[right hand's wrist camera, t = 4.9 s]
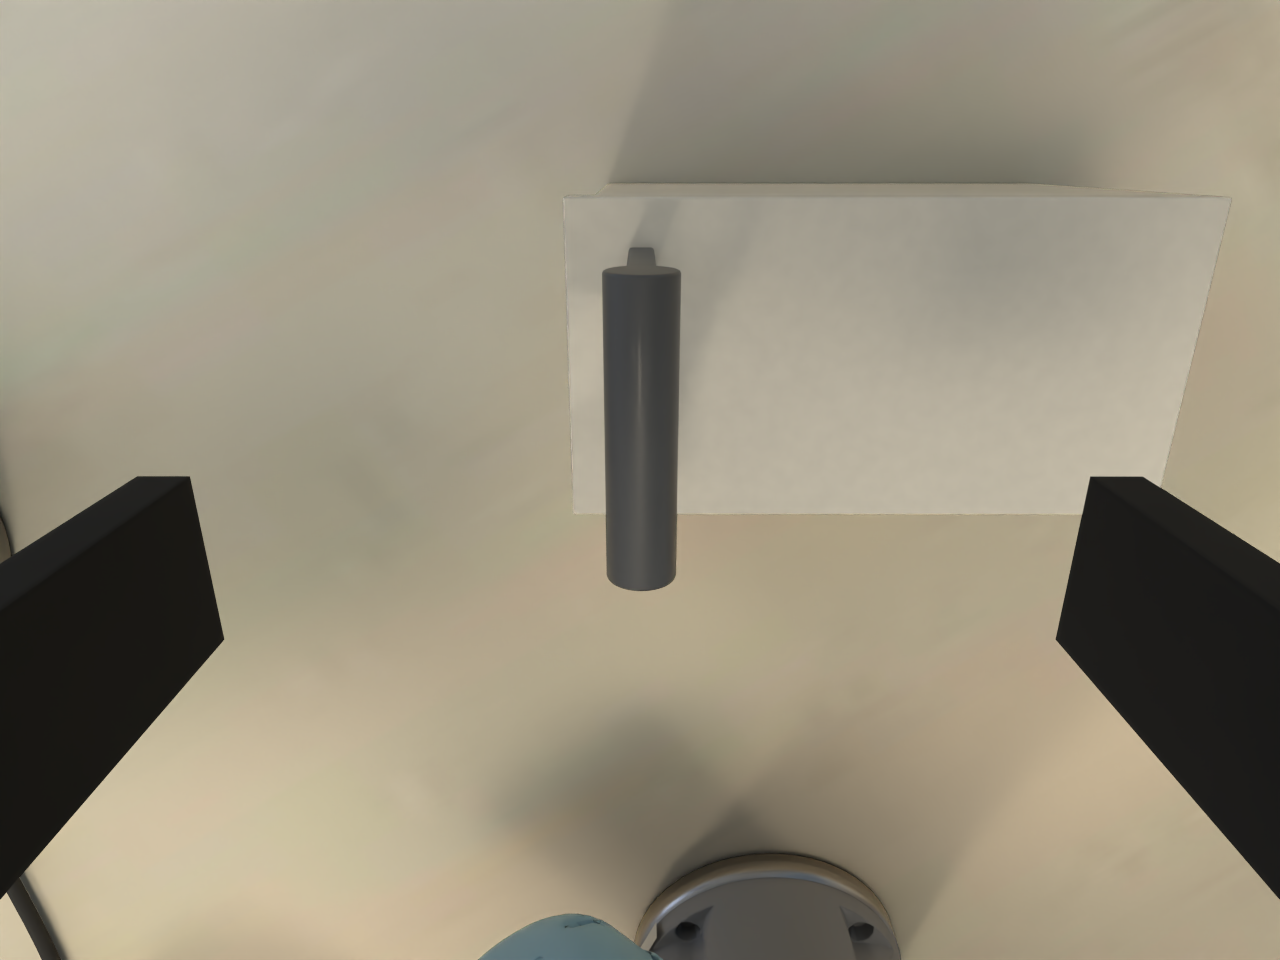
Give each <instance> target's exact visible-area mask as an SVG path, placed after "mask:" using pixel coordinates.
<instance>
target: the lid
mask: <svg viewBox="0 0 1280 960" xmlns="http://www.w3.org/2000/svg"><path fill="white" fill-rule="evenodd" d="M1231 201H1232V198H1230V197H1222V196H1207V195H568V196H566V197H564V198H563V217H564V249H565V280H566V312H567V343H568V375H569V406H570V438H571V469H572V501H573V514H575V515H606V558H607V577H608V579H609V580H610V581H611V582H612V583H613V584H614V585H616V586H618V587H620V588H623V589H627V590H634V591H649V590H655V589H659V588H662V587H665V586H667V585H668V584H670V583H671V582H672V581H673V580H674V578H675V576H676V537H677V515H1082V513H1083V508H1084V504H1085V499H1086V494H1087V489H1088V485H1089V480H1090V476H1143V477H1144V478H1146V479H1148V480H1149V481H1151V482H1152V483H1154V484H1155V485H1157V486H1159V487H1160V488H1161V485H1162V481H1163V477H1164V473H1165V469H1166V465H1167V461H1168V457H1169V453H1170V449H1171V444H1172V440H1173V436H1174V432H1175V428H1176V424H1177V420H1178V416H1179V412H1180V408H1181V404H1182V400H1183V396H1184V392H1185V388H1186V384H1187V380H1188V375H1189V371H1190V367H1191V363H1192V359H1193V355H1194V351H1195V347H1196V343H1197V339H1198V335H1199V331H1200V327H1201V323H1202V319H1203V315H1204V311H1205V306H1206V302H1207V298H1208V294H1209V290H1210V286H1211V282H1212V278H1213V274H1214V270H1215V266H1216V262H1217V258H1218V254H1219V250H1220V246H1221V242H1222V237H1223V233H1224V229H1225V225H1226V221H1227V217H1228V213H1229V209H1230V205H1231Z"/></svg>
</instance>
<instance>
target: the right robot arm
mask: <svg viewBox="0 0 1280 960" xmlns="http://www.w3.org/2000/svg"><path fill="white" fill-rule="evenodd" d="M223 640H224V636H223V631H222V626H221V622H220V617H219V612H218V608H217V603H216V598H215V593H214V589H213V584H212V579H211V575H210V570H209V565H208V560H207V556H206V551H205V546H204V541H203V537H202V532H201V527H200V523H199V518H198V513H197V508H196V504H195V499H194V494H193V489H192V485H191V480H190V476H137V477H136V478H134V479H132V480H131V481H129V482H128V483H126V484H125V485H123V486H121V487H120V488H118V489H117V490H115V491H114V492H112V493H110V494H109V495H107V496H106V497H104V498H103V499H101V500H99V501H98V502H96V503H95V504H93V505H92V506H90V507H88V508H87V509H85V510H84V511H82V512H81V513H79V514H77V515H76V516H74V517H73V518H71V519H70V520H68V521H66V522H65V523H63V524H62V525H60V526H59V527H57V528H55V529H54V530H52V531H51V532H49V533H48V534H46V535H44V536H43V537H41V538H40V539H38V540H37V541H35V542H33V543H32V544H30V545H29V546H27V547H25V548H24V549H22V550H21V551H19V552H18V553H16V554H14V555H13V556H11V553H10V547H9V541H8V538H7V534H6V531H5V527H4V525H3V522H2V520H1V517H0V899H1V898H2V897H3V896H4V895H5V893H6V892H7V894H8V896H9V897H10V899H11V901H12V903H13V905H14V906H15V908H16V910H17V912H18V914H19V916H20V917H21V919H22V921H23V923H24V925H25V927H26V929H27V931H28V933H29V935H30V936H31V938H32V940H33V942H34V944H35V946H36V948H37V951H38V953H39V955H40V957H41V959H42V960H61V959H60V957H59V954H58V952H57V950H56V948H55V946H54V944H53V942H52V940H51V937H50V935H49V933H48V931H47V929H46V927H45V925H44V923H43V921H42V919H41V917H40V916H39V914H38V912H37V910H36V908H35V906H34V904H33V902H32V900H31V899H30V897H29V895H28V893H27V891H26V889H25V887H24V886H23V884H22V882H21V880H20V878H19V877H20V876H21V875H22V874H23V873H24V871H25V870H26V869H27V868H28V867H29V866H30V864H31V863H32V862H33V861H34V860H35V859H36V857H37V856H38V855H39V854H40V853H41V852H42V850H43V849H44V848H45V847H46V846H47V845H48V843H49V842H50V841H51V840H52V839H53V838H54V837H55V835H56V834H57V833H58V832H59V831H60V830H61V828H62V827H63V826H64V825H65V824H66V823H67V821H68V820H69V819H70V818H71V817H72V816H73V814H74V813H75V812H76V811H77V810H78V809H79V808H80V806H81V805H82V804H83V803H84V802H85V801H86V799H87V798H88V797H89V796H90V795H91V794H92V792H93V791H94V790H95V789H96V788H97V787H98V785H99V784H100V783H101V782H102V781H103V780H104V778H105V777H106V776H107V775H108V774H109V773H110V772H111V770H112V769H113V768H114V767H115V766H116V765H117V763H118V762H119V761H120V760H121V759H122V758H123V756H124V755H125V754H126V753H127V752H128V751H129V749H130V748H131V747H132V746H133V745H134V744H135V742H136V741H137V740H138V739H139V738H140V737H141V736H142V734H143V733H144V732H145V731H146V730H147V729H148V727H149V726H150V725H151V724H152V723H153V722H154V720H155V719H156V718H157V717H158V716H159V715H160V713H161V712H162V711H163V710H164V709H165V708H166V707H167V705H168V704H169V703H170V702H171V701H172V700H173V698H174V697H175V696H176V695H177V694H178V693H179V691H180V690H181V689H182V688H183V687H184V686H185V684H186V683H187V682H188V681H189V680H190V679H191V677H192V676H193V675H194V674H195V673H196V672H197V671H198V669H199V668H200V667H201V666H202V665H203V664H204V662H205V661H206V660H207V659H208V658H209V657H210V655H211V654H212V653H213V652H214V651H215V650H216V648H217V647H218V646H219V645H220V644H221V643H222V642H223ZM1056 640H1057V642H1058V643H1059V644H1060V645H1061V646H1062V647H1063V648H1064V650H1065V651H1066V652H1067V653H1068V654H1069V655H1070V657H1071V658H1072V659H1073V660H1074V661H1075V662H1076V664H1077V665H1078V666H1079V667H1080V668H1081V669H1082V671H1083V672H1084V673H1085V674H1086V675H1087V676H1088V677H1089V679H1090V680H1091V681H1092V682H1093V683H1094V684H1095V686H1096V687H1097V688H1098V689H1099V690H1100V691H1101V693H1102V694H1103V695H1104V696H1105V697H1106V698H1107V700H1108V701H1109V702H1110V703H1111V704H1112V705H1113V707H1114V708H1115V709H1116V710H1117V711H1118V712H1119V713H1120V715H1121V716H1122V717H1123V718H1124V719H1125V720H1126V722H1127V723H1128V724H1129V725H1130V726H1131V727H1132V729H1133V730H1134V731H1135V732H1136V733H1137V734H1138V736H1139V737H1140V738H1141V739H1142V740H1143V741H1144V742H1145V744H1146V745H1147V746H1148V747H1149V748H1150V749H1151V751H1152V752H1153V753H1154V754H1155V755H1156V756H1157V758H1158V759H1159V760H1160V761H1161V762H1162V763H1163V765H1164V766H1165V767H1166V768H1167V769H1168V770H1169V772H1170V773H1171V774H1172V775H1173V776H1174V777H1175V778H1176V780H1177V781H1178V782H1179V783H1180V784H1181V785H1182V787H1183V788H1184V789H1185V790H1186V791H1187V792H1188V794H1189V795H1190V796H1191V797H1192V798H1193V799H1194V801H1195V802H1196V803H1197V804H1198V805H1199V806H1200V808H1201V809H1202V810H1203V811H1204V812H1205V813H1206V814H1207V816H1208V817H1209V818H1210V819H1211V820H1212V821H1213V823H1214V824H1215V825H1216V826H1217V827H1218V828H1219V830H1220V831H1221V832H1222V833H1223V834H1224V835H1225V837H1226V838H1227V839H1228V840H1229V841H1230V842H1231V843H1232V845H1233V846H1234V847H1235V848H1236V849H1237V850H1238V852H1239V853H1240V854H1241V855H1242V856H1243V857H1244V859H1245V860H1246V861H1247V862H1248V863H1249V864H1250V866H1251V867H1252V868H1253V869H1254V870H1255V871H1256V873H1257V874H1258V875H1259V876H1260V877H1261V878H1262V879H1263V881H1264V882H1265V883H1266V884H1267V885H1268V886H1269V888H1270V889H1271V890H1272V891H1273V892H1274V893H1275V895H1276V896H1277V897H1278V898H1279V899H1280V563H1278V562H1277V561H1275V560H1273V559H1272V558H1270V557H1269V556H1267V555H1266V554H1264V553H1262V552H1261V551H1259V550H1258V549H1256V548H1255V547H1253V546H1251V545H1250V544H1248V543H1247V542H1245V541H1243V540H1242V539H1240V538H1239V537H1237V536H1236V535H1234V534H1232V533H1231V532H1229V531H1228V530H1226V529H1225V528H1223V527H1221V526H1220V525H1218V524H1217V523H1215V522H1214V521H1212V520H1210V519H1209V518H1207V517H1206V516H1204V515H1203V514H1201V513H1199V512H1198V511H1196V510H1195V509H1193V508H1192V507H1190V506H1188V505H1187V504H1185V503H1184V502H1182V501H1181V500H1179V499H1177V498H1176V497H1174V496H1173V495H1171V494H1170V493H1168V492H1166V491H1165V490H1163V489H1162V488H1160V487H1159V486H1157V485H1155V484H1154V483H1152V482H1151V481H1149V480H1148V479H1146V478H1144V477H1143V476H1090V480H1089V485H1088V489H1087V494H1086V499H1085V504H1084V508H1083V513H1082V518H1081V523H1080V527H1079V532H1078V537H1077V541H1076V546H1075V551H1074V556H1073V560H1072V565H1071V570H1070V574H1069V579H1068V584H1067V589H1066V593H1065V598H1064V603H1063V608H1062V612H1061V617H1060V622H1059V626H1058V631H1057V636H1056Z"/></svg>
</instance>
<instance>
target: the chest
mask: <svg viewBox="0 0 1280 960" xmlns="http://www.w3.org/2000/svg"><path fill="white" fill-rule="evenodd" d="M595 195H1192V194H1177V193H1163V192H1148V191H1133V190H1119V189H1104V188H1090V187H1075V186H1060V185H1046V184H788V183H609V184H607V185H606V186H605V187H604V188H603V189H601V190H600V191H599V192H598V193H597V194H595Z"/></svg>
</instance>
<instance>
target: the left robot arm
mask: <svg viewBox="0 0 1280 960" xmlns="http://www.w3.org/2000/svg"><path fill="white" fill-rule="evenodd" d="M478 960H901V956H900V951H899V947H898V944H897V941H896V938H895V935H894V932H893V929H892V926H891V923H890V920H889V917H888V915H887V913H886V911H885V909H884V907H883V905H882V904H881V902H880V901H879V899H878V898H877V897H876V896H875V895H874V893H873V892H872V891H871V890H870V889H869V888H868V887H867V886H865V885H864V884H863V883H862V882H861V881H859V880H858V879H857V878H855V877H854V876H852V875H850V874H849V873H847V872H845V871H843V870H841V869H839V868H837V867H835V866H833V865H830V864H827V863H825V862H822V861H818V860H815V859H811V858H807V857H801V856H796V855H787V854H754V855H745V856H739V857H734V858H729V859H726V860H722V861H718V862H715V863H713V864H710V865H707V866H704V867H702V868H700V869H698V870H695V871H693V872H692V873H690V874H688V875H686V876H684V877H683V878H681V879H680V880H678V881H677V882H675V883H674V884H672V885H671V886H670V887H669V888H667V889H666V890H665V891H664V892H663V893H662V894H661V895H660V896H659V897H658V898H657V899H656V900H655V901H654V902H653V904H652V905H651V906H650V907H649V909H648V910H647V912H646V913H645V915H644V916H643V919H642V921H641V923H640V925H639V927H638V930H637V933H636V937H635V942H632V941H631V940H630V939H628V938H627V937H626V936H624V935H623V934H621V933H620V932H619V931H617V930H616V929H615V928H613V927H612V926H611V925H609V924H608V923H606V922H604V921H602V920H599V919H596V918H594V917H591V916H588V915H582V914H563V915H558V916H552V917H548V918H545V919H542V920H539V921H537V922H534V923H532V924H530V925H528V926H526V927H524V928H522V929H520V930H518V931H517V932H515V933H513V934H512V935H510V936H508V937H507V938H505V939H504V940H502V941H501V942H500V943H498V944H497V945H495V946H494V947H493V948H491V949H490V950H489V951H488V952H486V953H485V954H484V955H483V956H482V957H481V958H479V959H478Z"/></svg>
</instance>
